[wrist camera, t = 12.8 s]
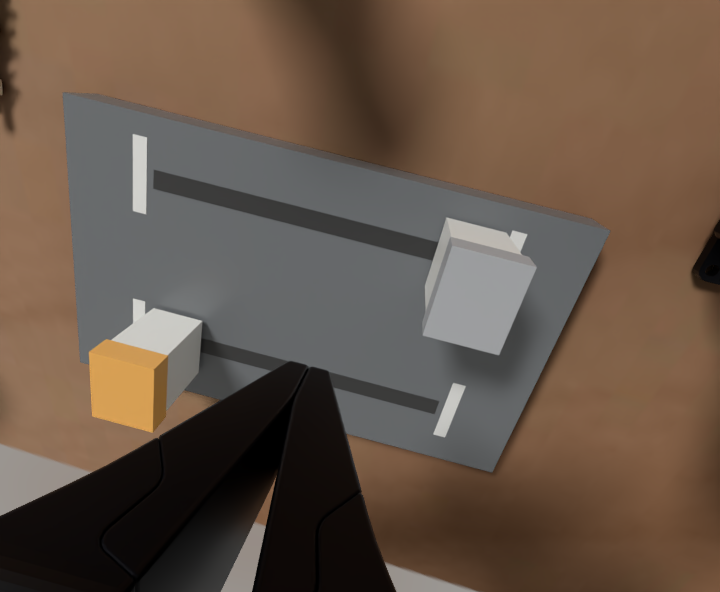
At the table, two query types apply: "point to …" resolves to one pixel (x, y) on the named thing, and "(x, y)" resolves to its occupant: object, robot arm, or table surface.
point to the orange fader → (144, 369)
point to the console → (308, 270)
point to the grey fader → (475, 286)
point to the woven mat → (0, 87)
